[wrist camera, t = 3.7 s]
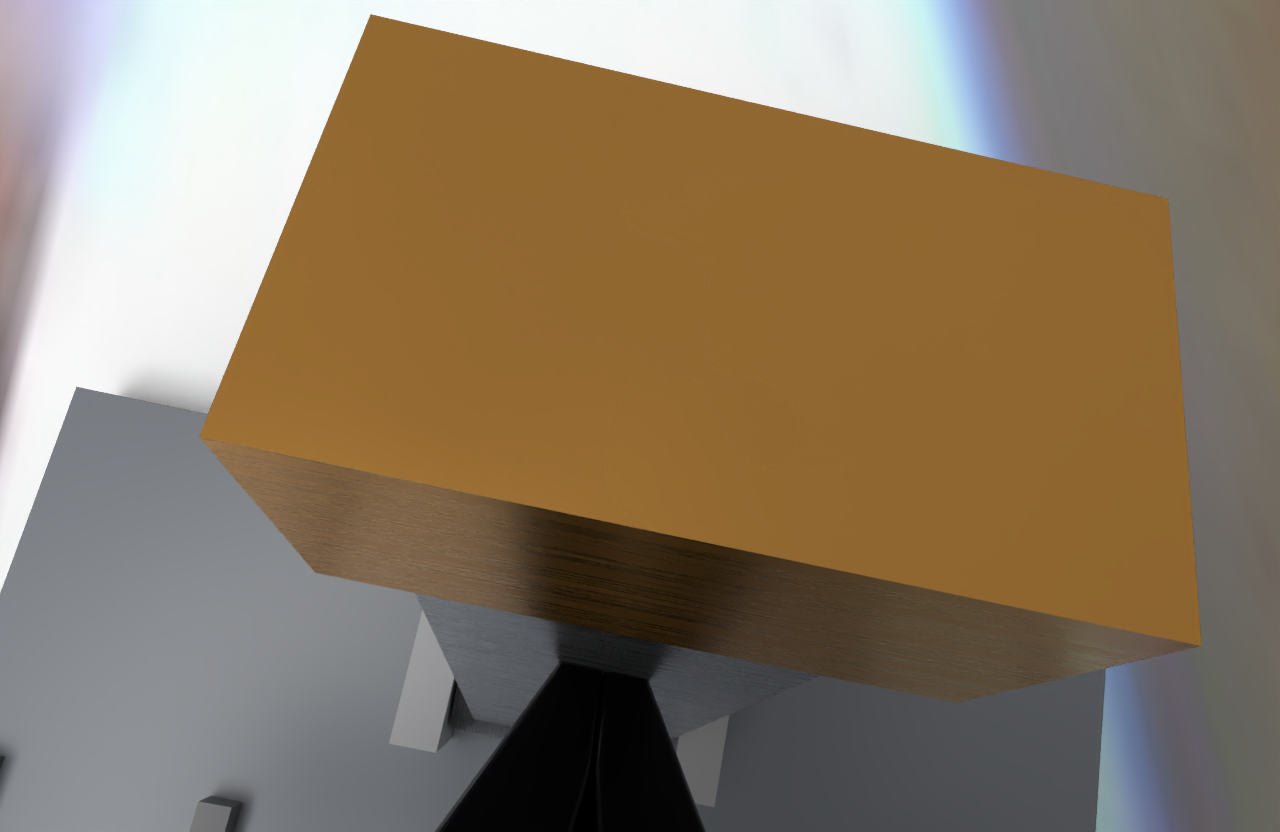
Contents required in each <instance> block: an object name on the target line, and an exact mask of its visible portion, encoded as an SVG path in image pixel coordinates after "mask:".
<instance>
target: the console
mask: <svg viewBox="0 0 1280 832" xmlns="http://www.w3.org/2000/svg"><path fill="white" fill-rule="evenodd" d="M207 416H208V414H203V413H198V412H193V411H189V410H184V409H179V408H174V407H170V406H165V405H160V404H155V403H151V402H146V401H141V400H136V399H132V398H127V397H122V396H117V395H112V394H108V393H103V392H98V391H93V390H89V389H84V388H79V387H76V390H75V393H74V395H73V398H72V401H71V403H70V406H69V409H68V411H67V414H66V417H65V420H64V422H63V425H62V428H61V430H60V433H59V436H58V439H57V441H56V444H55V447H54V449H53V452H52V455H51V458H50V460H49V463H48V466H47V468H46V471H45V474H44V477H43V479H42V482H41V485H40V487H39V490H38V493H37V496H36V498H35V501H34V504H33V506H32V509H31V512H30V514H29V517H28V520H27V523H26V525H25V528H24V531H23V533H22V536H21V539H20V542H19V544H18V547H17V550H16V552H15V555H14V558H13V561H12V563H11V566H10V569H9V571H8V574H7V577H6V580H5V582H4V585H3V588H2V590H1V593H0V832H435V830H436V829H437V828H438V826H439V825H440V824H441V822H442V821H443V819H444V818H445V817H446V815H447V814H448V813H449V811H450V810H451V809H452V807H453V806H454V804H455V803H456V802H457V800H458V799H459V798H460V796H461V795H462V794H463V792H464V791H465V789H466V788H467V787H468V785H469V784H470V783H471V781H472V780H473V779H474V777H475V776H476V774H477V773H478V772H479V770H480V769H481V768H482V766H483V765H484V763H485V762H486V761H487V759H488V758H489V757H490V755H491V754H492V753H493V751H494V750H495V748H496V747H497V746H498V744H499V743H500V742H501V740H502V739H499V738H494V737H489V736H484V735H478V734H473V733H468V732H463V731H458V730H453V729H450V721H451V714H452V708H453V703H454V698H455V693H456V689H457V682H456V680H455V678H454V676H453V673H452V671H451V669H450V667H449V665H448V663H447V661H446V658H445V656H444V654H443V652H442V650H441V648H440V646H439V643H438V641H437V639H436V637H435V635H434V633H433V631H432V629H431V626H430V624H429V622H428V620H427V618H426V616H425V614H424V611H423V609H422V607H421V605H420V603H419V601H418V599H417V596H416V594H415V593H412V592H407V591H402V590H397V589H392V588H387V587H382V586H377V585H373V584H368V583H363V582H358V581H353V580H348V579H343V578H338V577H333V576H328V575H323V574H318V573H315V572H314V571H313V570H312V568H311V567H310V566H309V565H308V564H307V563H306V561H305V560H304V559H303V558H302V557H301V556H300V554H299V553H298V552H297V551H296V550H295V549H294V547H293V546H292V545H291V544H290V543H289V542H288V540H287V539H286V538H285V537H284V536H283V534H282V533H281V532H280V531H279V530H278V529H277V527H276V526H275V525H274V524H273V523H272V522H271V520H270V519H269V518H268V517H267V516H266V515H265V513H264V512H263V511H262V510H261V509H260V508H259V506H258V505H257V504H256V503H255V502H254V501H253V499H252V498H251V497H250V496H249V495H248V494H247V492H246V491H245V490H244V489H243V488H242V486H241V485H240V484H239V483H238V482H237V481H236V479H235V478H234V477H233V476H232V475H231V474H230V472H229V471H228V470H227V469H226V468H225V467H224V465H223V464H222V463H221V462H220V461H219V460H218V458H217V457H216V456H215V455H214V454H213V453H212V451H211V450H210V449H209V448H208V447H207V446H206V444H205V443H204V442H203V441H202V440H201V439H200V437H199V435H200V433H201V430H202V428H203V425H204V423H205V420H206V418H207ZM1105 670H1106V668H1105V669H1101V670H1096V671H1092V672H1088V673H1083V674H1079V675H1075V676H1071V677H1066V678H1062V679H1058V680H1053V681H1049V682H1045V683H1040V684H1036V685H1032V686H1028V687H1023V688H1019V689H1015V690H1010V691H1006V692H1002V693H998V694H993V695H989V696H985V697H980V698H976V699H972V700H967V701H963V702H959V703H953V702H948V701H943V700H938V699H933V698H928V697H923V696H918V695H914V694H909V693H904V692H899V691H894V690H889V689H884V688H879V687H874V686H869V685H864V684H859V683H855V682H850V681H845V680H840V679H835V678H830V677H825V676H819V677H816V678H814V679H812V680H809V681H807V682H805V683H802V684H800V685H798V686H795V687H793V688H791V689H788V690H786V691H784V692H781V693H779V694H777V695H774V696H772V697H769V698H767V699H765V700H762V701H760V702H758V703H755V704H753V705H751V706H748V707H746V708H744V709H741V710H739V711H737V712H734V713H732V714H730V715H727V716H725V717H722V718H720V719H718V720H715V721H713V722H711V723H708V724H706V725H704V726H701V727H699V728H697V729H694V730H692V731H690V732H687V733H685V734H683V735H680V736H678V737H675V738H673V739H671V741H672V743H673V746H674V749H675V751H676V754H677V757H678V759H679V762H680V764H681V767H682V770H683V772H684V775H685V778H686V780H687V783H688V785H689V788H690V791H691V793H692V796H693V799H694V801H695V804H696V807H697V809H698V812H699V814H700V817H701V820H702V822H703V825H704V828H705V830H706V832H1095V830H1096V814H1097V798H1098V782H1099V766H1100V750H1101V734H1102V718H1103V702H1104V686H1105Z"/></svg>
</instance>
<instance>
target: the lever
mask: <svg viewBox="0 0 1280 832" xmlns="http://www.w3.org/2000/svg"><path fill="white" fill-rule="evenodd" d="M199 437H200V439H201V440H202V441H203V442H204V443H205V444H206V446H207V447H208V448H209V449H210V450H211V451H212V453H213V454H214V455H215V456H216V457H217V458H218V460H219V461H220V462H221V463H222V464H223V465H224V467H225V468H226V469H227V470H228V471H229V472H230V474H231V475H232V476H233V477H234V478H235V479H236V481H237V482H238V483H239V484H240V485H241V486H242V488H243V489H244V490H245V491H246V492H247V494H248V495H249V496H250V497H251V498H252V499H253V501H254V502H255V503H256V504H257V505H258V506H259V508H260V509H261V510H262V511H263V512H264V513H265V515H266V516H267V517H268V518H269V519H270V520H271V522H272V523H273V524H274V525H275V526H276V527H277V529H278V530H279V531H280V532H281V533H282V534H283V536H284V537H285V538H286V539H287V540H288V542H289V543H290V544H291V545H292V546H293V547H294V549H295V550H296V551H297V552H298V553H299V554H300V556H301V557H302V558H303V559H304V560H305V561H306V563H307V564H308V565H309V566H310V567H311V568H312V570H313V571H314V572H315V573H318V574H323V575H328V576H333V577H338V578H343V579H348V580H353V581H358V582H363V583H368V584H373V585H377V586H382V587H387V588H392V589H397V590H402V591H407V592H412V593H415V594H416V596H417V599H418V601H419V603H420V605H421V607H422V609H423V611H424V614H425V616H426V618H427V620H428V622H429V624H430V626H431V629H432V631H433V633H434V635H435V637H436V639H437V641H438V643H439V646H440V648H441V650H442V652H443V654H444V656H445V658H446V661H447V663H448V665H449V667H450V669H451V671H452V673H453V676H454V678H455V680H456V682H457V689H456V693H455V698H454V703H453V708H452V714H451V721H450V729H453V730H458V731H463V732H468V733H473V734H478V735H484V736H489V737H494V738H499V739H503V738H504V736H505V735H506V733H507V732H508V731H509V729H510V728H511V727H512V725H513V724H514V723H515V721H516V720H517V718H518V717H519V716H520V714H521V713H522V712H523V710H524V709H525V708H526V706H527V705H528V703H529V702H530V701H531V699H532V698H533V697H534V695H535V694H536V693H537V691H538V690H539V688H540V687H541V686H542V684H543V683H544V682H545V680H546V679H547V678H548V676H549V675H550V673H551V672H552V671H553V669H554V668H555V667H556V665H557V664H558V663H566V664H571V665H576V666H581V667H586V668H591V669H596V670H600V671H602V675H603V673H605V672H611V673H616V674H621V675H626V676H631V677H636V678H641V679H645V680H648V681H649V683H650V686H651V688H652V691H653V693H654V696H655V699H656V701H657V704H658V707H659V709H660V712H661V714H662V717H663V720H664V722H665V725H666V728H667V730H668V733H669V735H670V738H671V739H673V738H675V737H678V736H680V735H683V734H685V733H687V732H690V731H692V730H694V729H697V728H699V727H701V726H704V725H706V724H708V723H711V722H713V721H715V720H718V719H720V718H722V717H725V716H727V715H730V714H732V713H734V712H737V711H739V710H741V709H744V708H746V707H748V706H751V705H753V704H755V703H758V702H760V701H762V700H765V699H767V698H769V697H772V696H774V695H777V694H779V693H781V692H784V691H786V690H788V689H791V688H793V687H795V686H798V685H800V684H802V683H805V682H807V681H809V680H812V679H814V678H816V677H819V676H825V677H830V678H835V679H840V680H845V681H850V682H855V683H859V684H864V685H869V686H874V687H879V688H884V689H889V690H894V691H899V692H904V693H909V694H914V695H918V696H923V697H928V698H933V699H938V700H943V701H948V702H953V703H959V702H963V701H967V700H972V699H976V698H980V697H985V696H989V695H993V694H998V693H1002V692H1006V691H1010V690H1015V689H1019V688H1023V687H1028V686H1032V685H1036V684H1040V683H1045V682H1049V681H1053V680H1058V679H1062V678H1066V677H1071V676H1075V675H1079V674H1083V673H1088V672H1092V671H1096V670H1101V669H1105V668H1109V667H1113V666H1118V665H1122V664H1126V663H1131V662H1135V661H1139V660H1144V659H1148V658H1152V657H1156V656H1161V655H1165V654H1169V653H1174V652H1178V651H1182V650H1186V649H1191V648H1195V647H1199V646H1201V632H1200V619H1199V605H1198V592H1197V579H1196V565H1195V552H1194V538H1193V525H1192V512H1191V498H1190V485H1189V471H1188V458H1187V445H1186V431H1185V418H1184V404H1183V391H1182V377H1181V364H1180V351H1179V337H1178V324H1177V310H1176V297H1175V284H1174V270H1173V257H1172V243H1171V230H1170V217H1169V203H1168V199H1167V198H1162V197H1158V196H1154V195H1149V194H1145V193H1141V192H1136V191H1132V190H1128V189H1123V188H1119V187H1115V186H1110V185H1106V184H1102V183H1097V182H1093V181H1089V180H1084V179H1080V178H1076V177H1071V176H1067V175H1063V174H1058V173H1054V172H1050V171H1046V170H1041V169H1037V168H1033V167H1028V166H1024V165H1020V164H1015V163H1011V162H1007V161H1002V160H998V159H994V158H989V157H985V156H981V155H976V154H972V153H968V152H963V151H959V150H955V149H950V148H946V147H942V146H937V145H933V144H929V143H924V142H920V141H916V140H912V139H907V138H903V137H899V136H894V135H890V134H886V133H881V132H877V131H873V130H868V129H864V128H860V127H855V126H851V125H847V124H842V123H838V122H834V121H829V120H825V119H821V118H816V117H812V116H808V115H803V114H799V113H795V112H790V111H786V110H782V109H778V108H773V107H769V106H765V105H760V104H756V103H752V102H747V101H743V100H739V99H734V98H730V97H726V96H721V95H717V94H713V93H708V92H704V91H700V90H695V89H691V88H687V87H682V86H678V85H674V84H669V83H665V82H661V81H656V80H652V79H648V78H644V77H639V76H635V75H631V74H626V73H622V72H618V71H613V70H609V69H605V68H600V67H596V66H592V65H587V64H583V63H579V62H574V61H570V60H566V59H561V58H557V57H553V56H548V55H544V54H540V53H535V52H531V51H527V50H522V49H518V48H514V47H510V46H505V45H501V44H497V43H492V42H488V41H484V40H479V39H475V38H471V37H466V36H462V35H458V34H453V33H449V32H445V31H440V30H436V29H432V28H427V27H423V26H419V25H414V24H410V23H406V22H401V21H397V20H393V19H388V18H384V17H380V16H376V15H370V18H369V20H368V22H367V25H366V27H365V30H364V32H363V35H362V37H361V40H360V42H359V45H358V47H357V50H356V52H355V54H354V57H353V59H352V62H351V64H350V67H349V69H348V72H347V74H346V77H345V79H344V81H343V84H342V86H341V89H340V91H339V94H338V96H337V99H336V101H335V104H334V106H333V108H332V111H331V113H330V116H329V118H328V121H327V123H326V126H325V128H324V131H323V133H322V135H321V138H320V140H319V143H318V145H317V148H316V150H315V153H314V155H313V158H312V160H311V163H310V165H309V167H308V170H307V172H306V175H305V177H304V180H303V182H302V185H301V187H300V190H299V192H298V194H297V197H296V199H295V202H294V204H293V207H292V209H291V212H290V214H289V217H288V219H287V221H286V224H285V226H284V229H283V231H282V234H281V236H280V239H279V241H278V244H277V246H276V248H275V251H274V253H273V256H272V258H271V261H270V263H269V266H268V268H267V271H266V273H265V275H264V278H263V280H262V283H261V285H260V288H259V290H258V293H257V295H256V298H255V300H254V303H253V305H252V307H251V310H250V312H249V315H248V317H247V320H246V322H245V325H244V327H243V330H242V332H241V334H240V337H239V339H238V342H237V344H236V347H235V349H234V352H233V354H232V357H231V359H230V361H229V364H228V366H227V369H226V371H225V374H224V376H223V379H222V381H221V384H220V386H219V388H218V391H217V393H216V396H215V398H214V401H213V403H212V406H211V408H210V411H209V413H208V416H207V418H206V420H205V423H204V425H203V428H202V430H201V433H200V435H199Z"/></svg>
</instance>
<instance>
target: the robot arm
mask: <svg viewBox="0 0 1280 832" xmlns="http://www.w3.org/2000/svg"><path fill="white" fill-rule="evenodd" d="M435 832H706V830H705V828H704V825H703V822H702V820H701V817H700V814H699V812H698V809H697V807H696V804H695V801H694V799H693V796H692V793H691V791H690V788H689V785H688V783H687V780H686V778H685V775H684V772H683V770H682V767H681V764H680V762H679V759H678V757H677V754H676V751H675V749H674V746H673V743H672V741H671V738H670V735H669V733H668V730H667V728H666V725H665V722H664V720H663V717H662V714H661V712H660V709H659V707H658V704H657V701H656V699H655V696H654V693H653V691H652V688H651V686H650V683H649V681H648V680H645V679H641V678H636V677H631V676H626V675H621V674H616V673H611V672H605V673H603V675H602V671H600V670H596V669H591V668H586V667H581V666H576V665H571V664H566V663H558V664H557V665H556V667H555V668H554V669H553V671H552V672H551V673H550V675H549V676H548V678H547V679H546V680H545V682H544V683H543V684H542V686H541V687H540V688H539V690H538V691H537V693H536V694H535V695H534V697H533V698H532V699H531V701H530V702H529V703H528V705H527V706H526V708H525V709H524V710H523V712H522V713H521V714H520V716H519V717H518V718H517V720H516V721H515V723H514V724H513V725H512V727H511V728H510V729H509V731H508V732H507V733H506V735H505V736H504V738H503V739H502V740H501V742H500V743H499V744H498V746H497V747H496V748H495V750H494V751H493V753H492V754H491V755H490V757H489V758H488V759H487V761H486V762H485V763H484V765H483V766H482V768H481V769H480V770H479V772H478V773H477V774H476V776H475V777H474V779H473V780H472V781H471V783H470V784H469V785H468V787H467V788H466V789H465V791H464V792H463V794H462V795H461V796H460V798H459V799H458V800H457V802H456V803H455V804H454V806H453V807H452V809H451V810H450V811H449V813H448V814H447V815H446V817H445V818H444V819H443V821H442V822H441V824H440V825H439V826H438V828H437V829H436V830H435Z"/></svg>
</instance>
